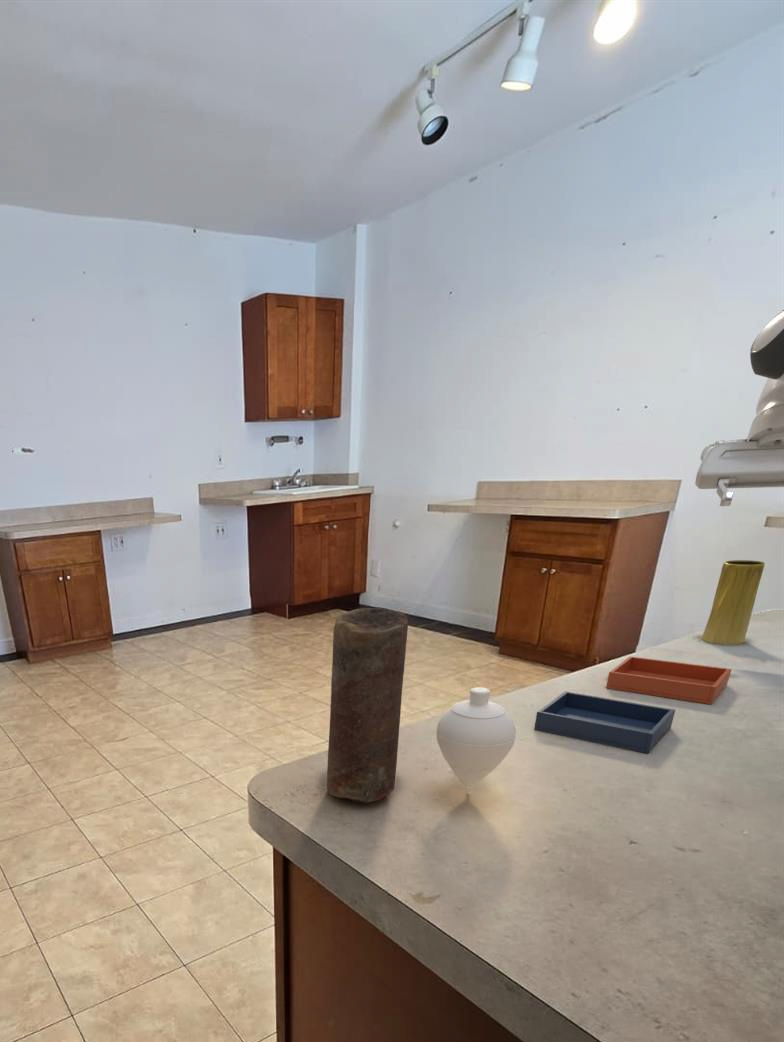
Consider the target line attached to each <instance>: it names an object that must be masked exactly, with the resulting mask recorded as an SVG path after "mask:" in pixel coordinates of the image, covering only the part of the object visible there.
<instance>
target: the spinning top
mask: <svg viewBox="0 0 784 1042" xmlns="http://www.w3.org/2000/svg"><path fill="white" fill-rule="evenodd" d="M490 696H491V690H490V689H489V688H486V687H481V686H477V687H472V688H470V690H469V699H466V700H462V701H459V702H456V703H454V704H453V705H451V707H450V708H449V709H447V710H446V711H445V712H444V713H443V715H442V716H441V717H440V719H439V721H438V722H437V726H436V731H435V732H436V741H437V744H438V748H439V750H440V752H441V753H442V756H443V758H444V760H445V761H446V763H447V764H448V766H449V768H450V769H451V770H452V773H454V775H455V776H456V777H457V778H458V780H459V781H460V783H462V785H463V786H465V787H466V791H465V793H466V795H467V794H468V795H470V794H471V788H473V787H475V786H476V785H478V784H479V783H481V782H483V780H484V779H485V778H486V777H488V776H489V775H490V774H491V773H492V772H493V771H495V770H496V769H497V767H498V766H499V765H500V764H501V763H502V762H503V761H504V760H505V758H506V757H507V756H508V755H509V753H510V752H511V750H512V749H513V746H514V745H515V741H516V737H517V730H516V725H515V723H514V720H513V718H512V717H511V715H510V714H509V713H508V712H507V711H506V708H505V707H503V706H502V705H500V704H499V703H496V702H493V701H491V700H489V699H490Z"/></svg>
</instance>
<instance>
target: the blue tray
mask: <svg viewBox="0 0 784 1042" xmlns="http://www.w3.org/2000/svg"><path fill="white" fill-rule="evenodd" d="M675 713H676V709H673V708H666V707H662V706H655V705H649V704H644V703H638V702H631V701H626V700H625V701H624V700H618V699H614V698H607V697H601V696H597V695H596V696H595V695H590V694H583V693H578V692H571V691H564V692H562V693H561V694H559V695H558V696H557V697H555V698H554V699H553V700H551V701H550V702H549V703H547V704H546V705H544V706H543V707H542V708H540V709H539V710H538V711H536V715H535V722H534V730H535V731H539V732H545V733H549V734H553V735H558V736H564V737H567V738H572V739H577V740H582V741H587V742H591V743H596V744H601V745H606V746H611V747H616V748H621V749H624V750H630V751H634V752H639V753H644V754H650V752H651V751H652V750H653V749H654V748H655V746H656V745H657V744H658V743H659V742H660V741H661V740H662V739H663V737H664V736H665V735H666V734H667V733H668V732H669V730H671V728H672V724H673V721H674V717H675Z"/></svg>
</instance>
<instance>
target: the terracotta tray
mask: <svg viewBox="0 0 784 1042" xmlns="http://www.w3.org/2000/svg"><path fill="white" fill-rule="evenodd" d="M731 673H732V668H726V667H719V666H711V665H702V664H693V663H687V662H680V661H679V662H678V661H670V660H661V659H653V658H647V657H638V656H628V657H627V658H625V659H624V660H623V661H621V663H619V664H618V665H616V666H615V667H614V668H612V669H611V670H610V671H609V672H608V676H607V681H606V686H605V688H606V689H610V690H617V691H623V692H628V693H629V692H630V693H636V694H642V695H649V696H656V697H660V698H667V699H675V700H681V701H687V702H692V703H693V702H694V703H699V704H704V705H705V704H706V705H712V704H713V703H714V702H715V701H716V700H717V698H718V697H719V696H720V694H721V693H722V692H724V690H725V688H726V687H727V686H728V683H729V679H730V676H731Z"/></svg>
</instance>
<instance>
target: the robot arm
mask: <svg viewBox="0 0 784 1042" xmlns="http://www.w3.org/2000/svg"><path fill="white" fill-rule="evenodd" d="M749 360H750V365H751V369H752V371H753V374H754V375H756V376H760V377H764V378H767V380H766V381H765V383H764V386H763V388H762V390H761V392H760V395H759V398H758V401H757V404H756V409H755V417H754V418H753V420H752V421H751V424H750V428H749V431H748V434H747V437H746V438H744V439H743V438H742V439H732V440H716V441H715V442H714V443H710V444H708V445H706V446H705V447H704V448H703V450H702V451H701V454H700V460H701V462H700V464H699V467H698V470H697V472H696V477H695V482H694V485H695V486H696V487H697V489H699V490H715V489H716V494H717V495H718V497H719V499H720V503H719V507H730V506H731V505H732V501H733V496H734V493H735V491H729V490H728V489H754V488H755V489H756V488H784V309H783V310H781V311H780V312H779V313H778V314H777V315H776V316H774V317H773V318H772V319H771V320H770V321H769V322H768V323H767V324H766V325H764V327H763V328H762V330H761V331H760V332H759V333H758V334H757V335H756V337H755V339H754V341H752V344H751V346H750V353H749Z"/></svg>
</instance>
